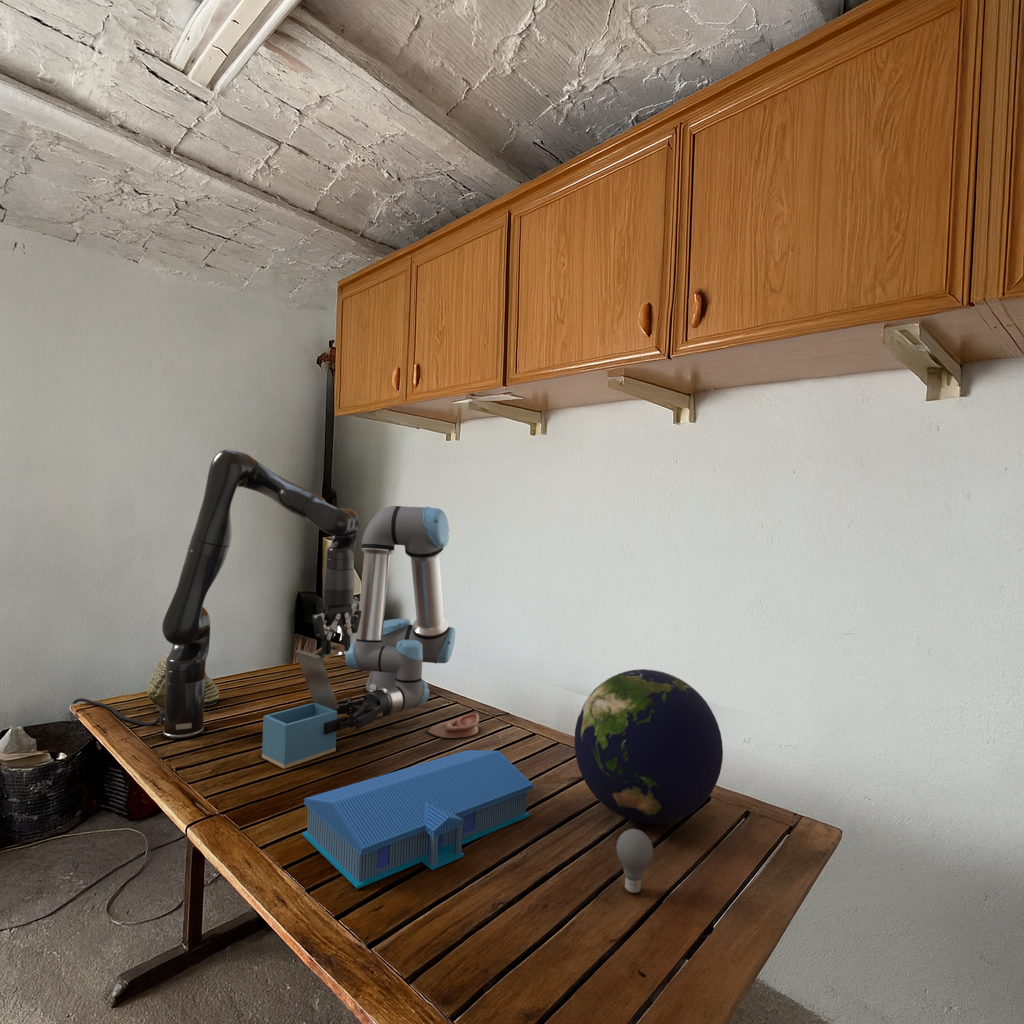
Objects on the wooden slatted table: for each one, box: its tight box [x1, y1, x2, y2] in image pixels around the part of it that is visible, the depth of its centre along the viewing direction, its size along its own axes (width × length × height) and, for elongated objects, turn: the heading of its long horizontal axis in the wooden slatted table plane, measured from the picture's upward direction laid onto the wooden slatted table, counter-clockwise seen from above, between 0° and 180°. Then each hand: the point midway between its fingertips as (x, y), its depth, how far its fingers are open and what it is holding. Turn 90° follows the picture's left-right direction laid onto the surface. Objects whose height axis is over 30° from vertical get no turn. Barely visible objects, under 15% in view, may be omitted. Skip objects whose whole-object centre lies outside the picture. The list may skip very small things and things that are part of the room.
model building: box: [302, 749, 534, 890], centre depth 123 cm, size 39×24×10 cm, turn 132°
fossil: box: [147, 654, 221, 712], centre depth 185 cm, size 9×18×15 cm, turn 132°
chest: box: [261, 701, 338, 770], centre depth 155 cm, size 14×9×10 cm, turn 143°
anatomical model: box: [427, 712, 480, 739], centre depth 174 cm, size 13×4×12 cm
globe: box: [573, 668, 724, 825], centre depth 131 cm, size 30×30×30 cm
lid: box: [295, 641, 345, 710], centre depth 161 cm, size 15×9×9 cm
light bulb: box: [615, 828, 654, 894], centre depth 106 cm, size 6×6×10 cm
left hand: (336, 651), depth 162 cm, fingers open, 5 cm apart
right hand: (312, 723), depth 158 cm, fingers closed on chest, 9 cm apart
